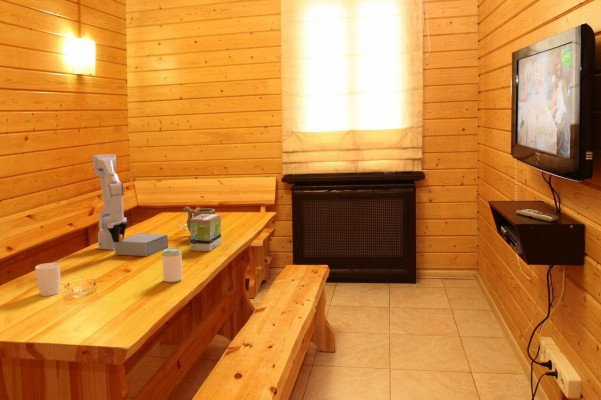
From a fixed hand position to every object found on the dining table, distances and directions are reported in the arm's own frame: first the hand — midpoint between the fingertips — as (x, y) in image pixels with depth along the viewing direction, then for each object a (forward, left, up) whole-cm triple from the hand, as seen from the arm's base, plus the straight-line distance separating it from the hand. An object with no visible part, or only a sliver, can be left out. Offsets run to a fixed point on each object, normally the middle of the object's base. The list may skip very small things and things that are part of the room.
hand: (118, 240), depth 247 cm
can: (+43, -25, -7) cm, 50 cm away
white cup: (+9, -51, -7) cm, 52 cm away
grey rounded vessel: (+16, +44, -7) cm, 47 cm away
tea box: (+30, +25, -7) cm, 40 cm away
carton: (+5, +11, -7) cm, 14 cm away
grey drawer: (+5, +1, -6) cm, 8 cm away
